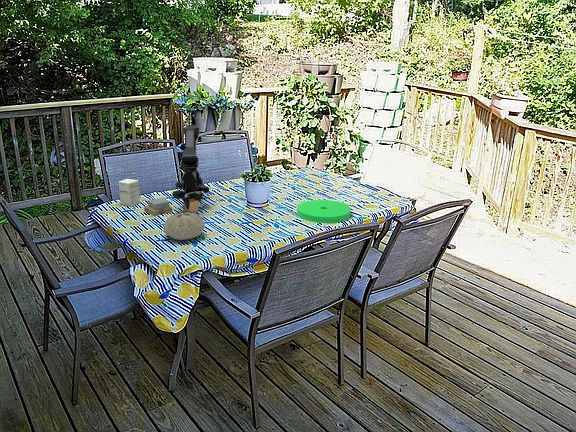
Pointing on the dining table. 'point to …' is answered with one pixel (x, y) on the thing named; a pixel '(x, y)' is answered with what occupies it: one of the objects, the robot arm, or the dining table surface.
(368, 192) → the dining table surface
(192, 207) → the terracotta cube
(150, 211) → the walnut slab
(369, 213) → the dining table surface
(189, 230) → the decorative shell
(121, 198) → the supplement box
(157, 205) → the grey square block
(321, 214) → the disc
